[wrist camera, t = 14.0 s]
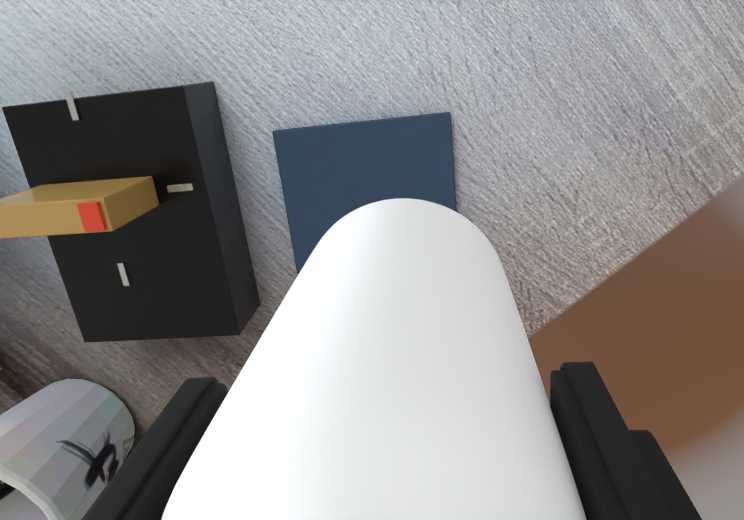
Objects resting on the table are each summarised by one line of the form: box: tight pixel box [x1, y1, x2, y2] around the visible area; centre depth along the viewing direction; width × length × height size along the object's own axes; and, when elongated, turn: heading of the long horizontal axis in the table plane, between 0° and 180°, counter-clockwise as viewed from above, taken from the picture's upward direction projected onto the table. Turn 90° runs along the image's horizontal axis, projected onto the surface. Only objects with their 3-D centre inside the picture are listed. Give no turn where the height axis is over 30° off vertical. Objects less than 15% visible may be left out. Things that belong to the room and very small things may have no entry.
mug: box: [0, 379, 135, 520], centre depth 35 cm, size 10×15×10 cm
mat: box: [273, 112, 456, 274], centre depth 31 cm, size 10×10×1 cm
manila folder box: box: [0, 176, 159, 239], centre depth 26 cm, size 6×2×5 cm, turn 96°
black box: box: [2, 82, 260, 342], centre depth 31 cm, size 14×11×4 cm
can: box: [161, 198, 587, 520], centre depth 12 cm, size 6×6×12 cm
